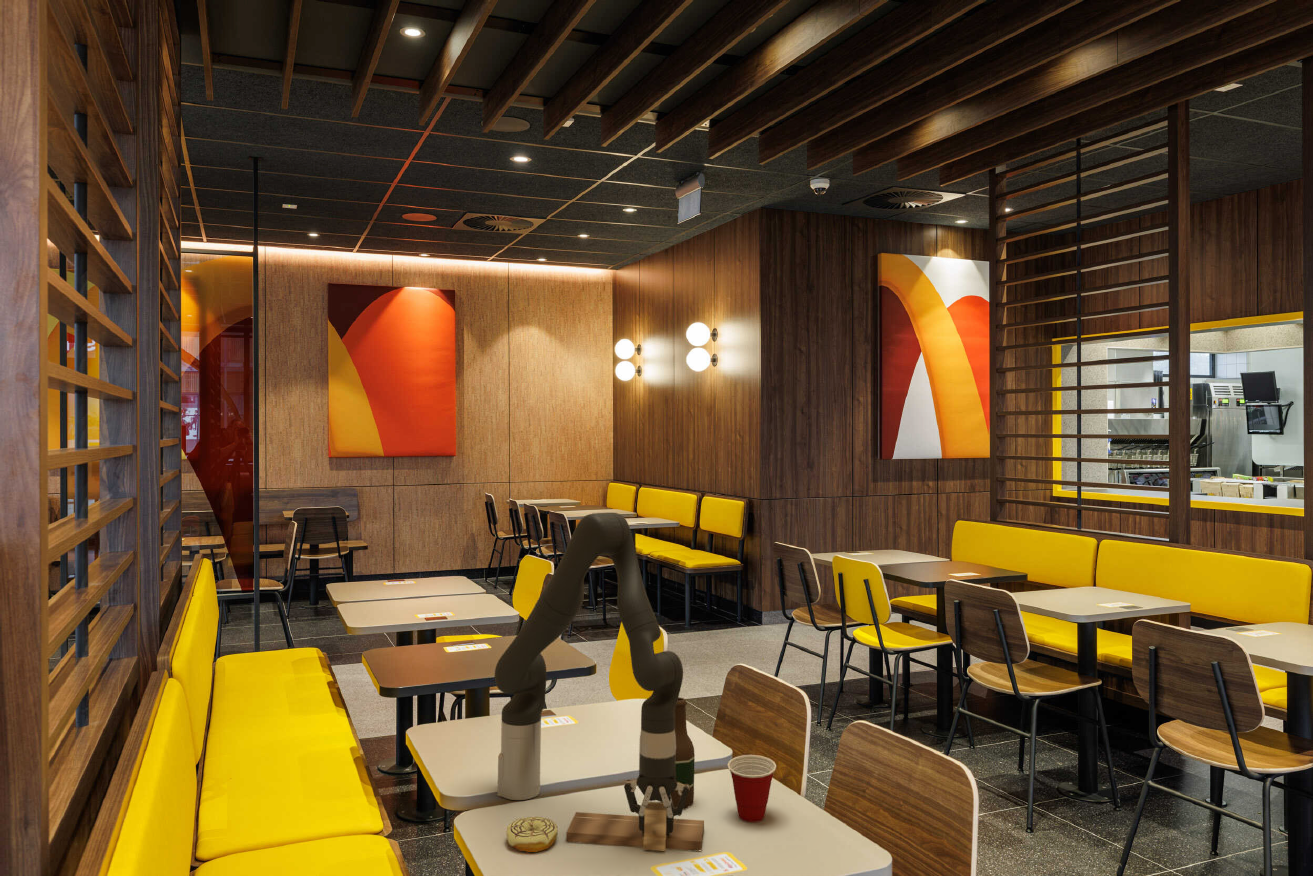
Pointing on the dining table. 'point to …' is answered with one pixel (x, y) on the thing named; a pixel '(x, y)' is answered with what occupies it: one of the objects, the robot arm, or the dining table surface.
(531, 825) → the decorated donut
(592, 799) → the dining table surface
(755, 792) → the plastic cup
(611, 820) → the board
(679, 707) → the beer bottle
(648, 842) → the block
